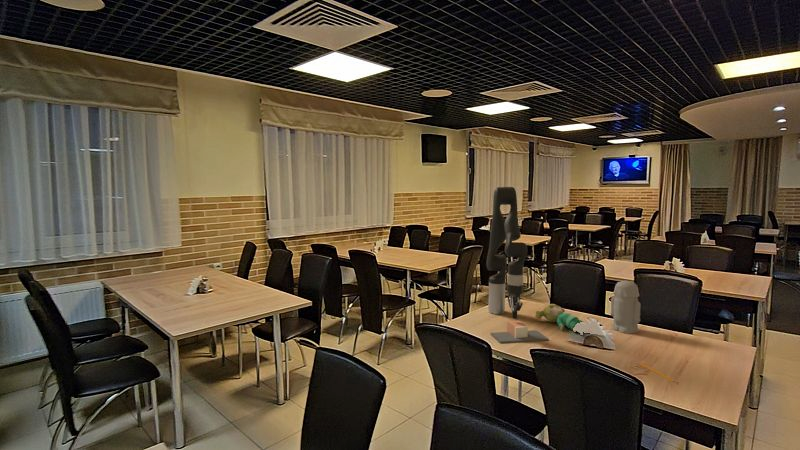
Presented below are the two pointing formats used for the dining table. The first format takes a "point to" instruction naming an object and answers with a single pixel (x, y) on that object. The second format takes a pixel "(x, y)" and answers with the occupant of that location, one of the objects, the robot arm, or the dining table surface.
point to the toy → (558, 316)
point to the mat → (508, 338)
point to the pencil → (656, 371)
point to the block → (517, 329)
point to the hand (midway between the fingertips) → (514, 318)
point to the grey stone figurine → (625, 307)
